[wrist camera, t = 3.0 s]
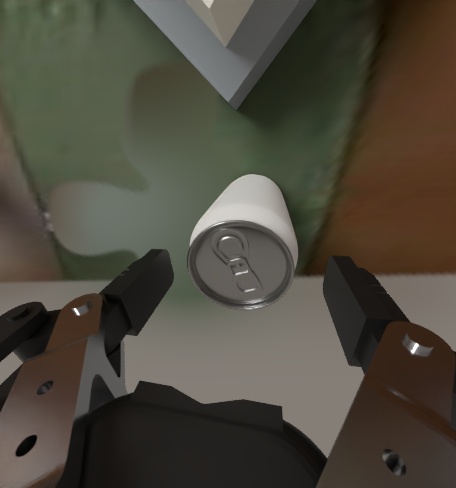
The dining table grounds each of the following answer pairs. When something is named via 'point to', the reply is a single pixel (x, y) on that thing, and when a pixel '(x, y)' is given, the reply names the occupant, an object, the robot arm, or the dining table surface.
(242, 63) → the tower base
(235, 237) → the can
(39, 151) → the dining table surface
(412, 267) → the dining table surface
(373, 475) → the robot arm
